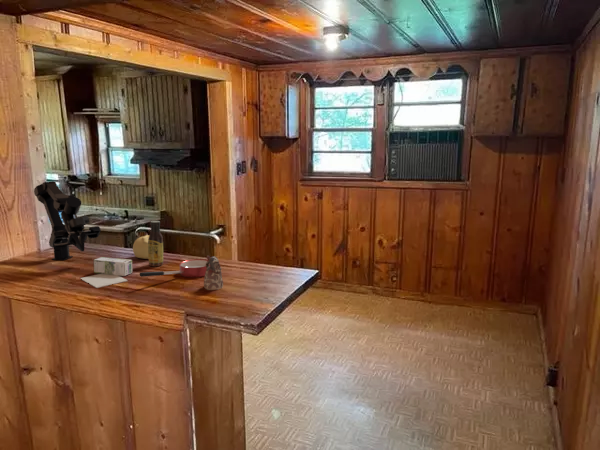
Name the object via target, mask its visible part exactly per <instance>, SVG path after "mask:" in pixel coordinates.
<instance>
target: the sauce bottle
mask: <svg viewBox="0 0 600 450" xmlns="http://www.w3.org/2000/svg"><path fill="white" fill-rule="evenodd" d="M160 226H161V221H160V220H151V221H150V233H149V239H148V257H149V259H148V264H149V266H150V267H160V266H163V264H164V241H163V240H164V239H163V238H164V237H163V234H162V233H161V227H160Z"/></svg>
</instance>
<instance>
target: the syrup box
mask: <svg viewBox="0 0 600 450" xmlns="http://www.w3.org/2000/svg"><path fill="white" fill-rule="evenodd" d="M93 273H94V274H109V275H118V276H120V277H125V276H127V275H130V274H133V259H130V258H129V259H128V258H127V259H125V258H117V257H106V256H100V257H98V258H95V259H93Z"/></svg>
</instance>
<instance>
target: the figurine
mask: <svg viewBox="0 0 600 450" xmlns="http://www.w3.org/2000/svg"><path fill="white" fill-rule="evenodd" d="M206 260H208V261H207V262H206V268H207V270H206V272H205V276H204V277H203V278H204V280H203V287H204V289H205V290H207V291H214V290H218V291H219V290H221V289H223V287H224V280H223V276H222V269H223V268H222V267H221V265H220V262H219V261H220V260H219V259H218V257H216V256H210V255H207V256H206ZM209 264H210V266H209Z"/></svg>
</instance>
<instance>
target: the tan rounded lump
mask: <svg viewBox="0 0 600 450" xmlns="http://www.w3.org/2000/svg"><path fill="white" fill-rule="evenodd" d="M149 236H150V234H149V235H148V234H146V235H142V236H140V237H138V238H136V239H135V240H134V242H133V245H132V252H133V255H134V256H135V257H136V258H139V259H147V260H149V257H148V239H149Z"/></svg>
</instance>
